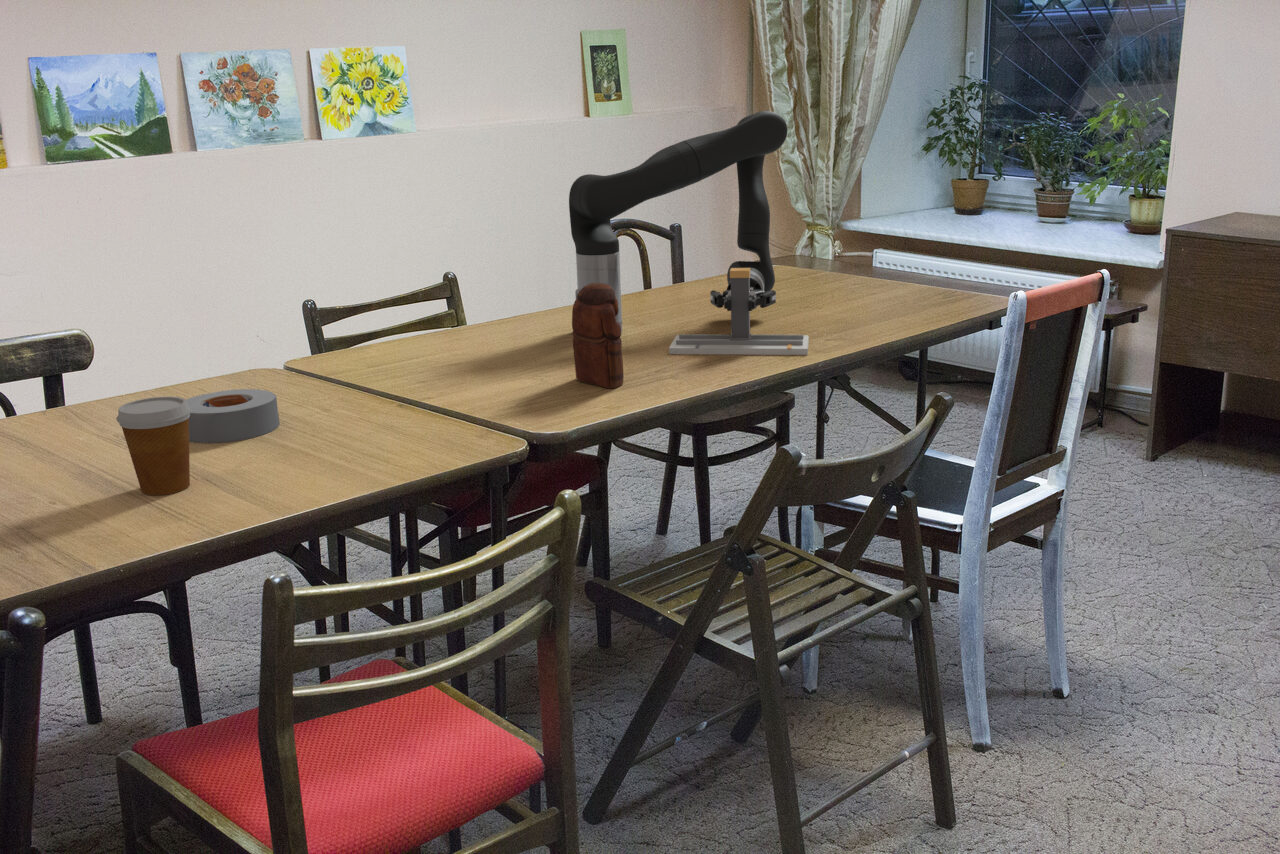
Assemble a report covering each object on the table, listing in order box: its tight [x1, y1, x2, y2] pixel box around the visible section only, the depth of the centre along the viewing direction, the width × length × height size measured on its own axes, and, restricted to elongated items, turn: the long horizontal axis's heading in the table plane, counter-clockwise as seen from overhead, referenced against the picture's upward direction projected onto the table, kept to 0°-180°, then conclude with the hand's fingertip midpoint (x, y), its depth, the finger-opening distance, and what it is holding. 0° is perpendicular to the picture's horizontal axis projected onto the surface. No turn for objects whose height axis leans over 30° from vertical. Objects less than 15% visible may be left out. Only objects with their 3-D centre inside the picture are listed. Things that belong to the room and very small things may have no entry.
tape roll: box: [185, 388, 281, 444], centre depth 188 cm, size 15×15×5 cm
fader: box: [730, 268, 752, 340], centre depth 231 cm, size 4×4×14 cm
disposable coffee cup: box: [116, 396, 191, 496], centre depth 160 cm, size 10×10×12 cm
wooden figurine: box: [571, 283, 625, 389], centre depth 208 cm, size 12×6×18 cm, turn 43°
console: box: [668, 333, 810, 356], centre depth 233 cm, size 27×13×2 cm, turn 81°
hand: (739, 305), depth 228 cm, fingers closed on fader, 3 cm apart
